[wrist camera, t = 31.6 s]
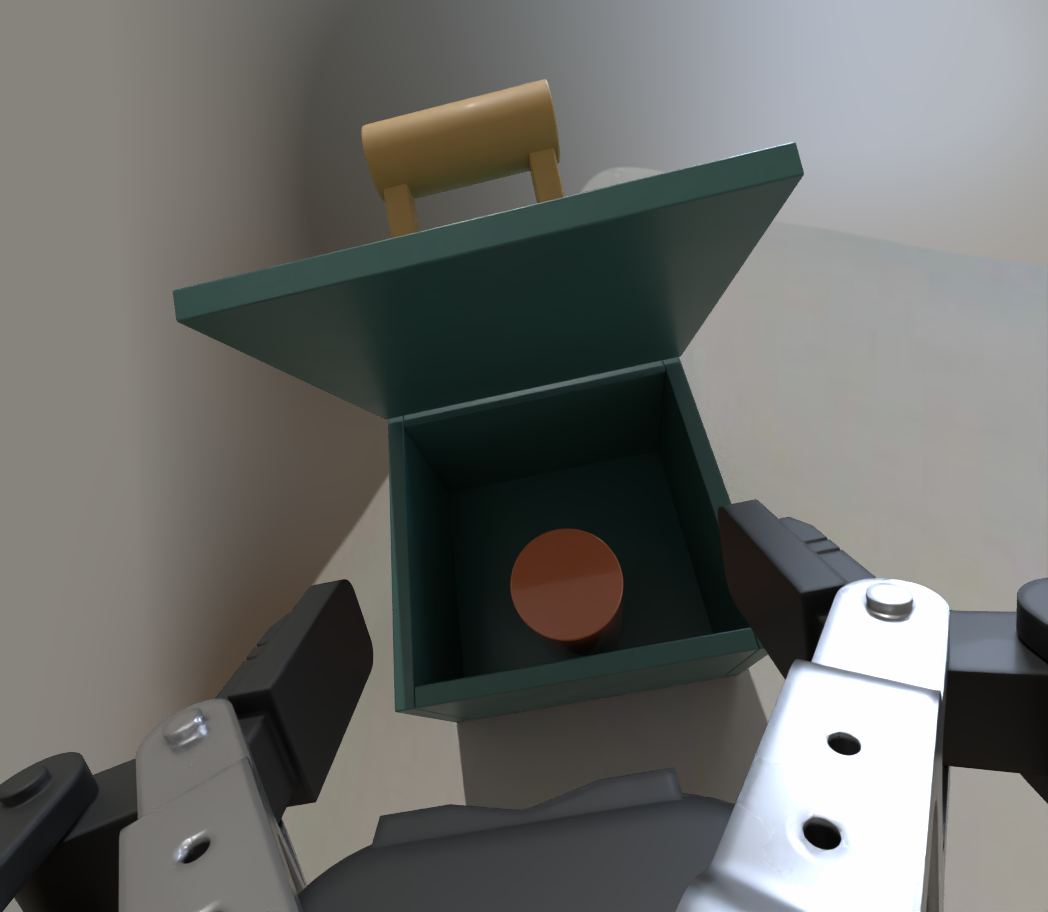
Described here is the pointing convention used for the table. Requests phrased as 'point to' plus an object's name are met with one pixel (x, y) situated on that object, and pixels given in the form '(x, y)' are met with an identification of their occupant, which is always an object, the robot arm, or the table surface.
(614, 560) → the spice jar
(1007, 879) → the table surface
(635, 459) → the chest
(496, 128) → the lid
